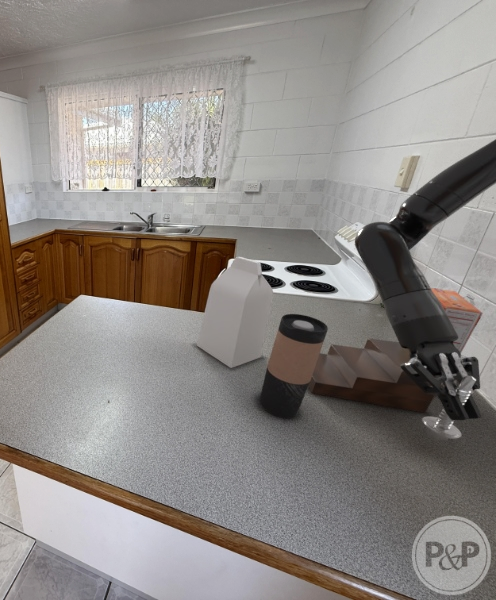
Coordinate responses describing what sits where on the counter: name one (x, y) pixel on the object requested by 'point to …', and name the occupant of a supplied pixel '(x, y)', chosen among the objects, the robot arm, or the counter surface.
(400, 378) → the shelf stand
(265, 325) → the milk
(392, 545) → the counter surface
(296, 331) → the travel mug
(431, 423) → the screw
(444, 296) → the cracker box
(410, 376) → the robot arm
